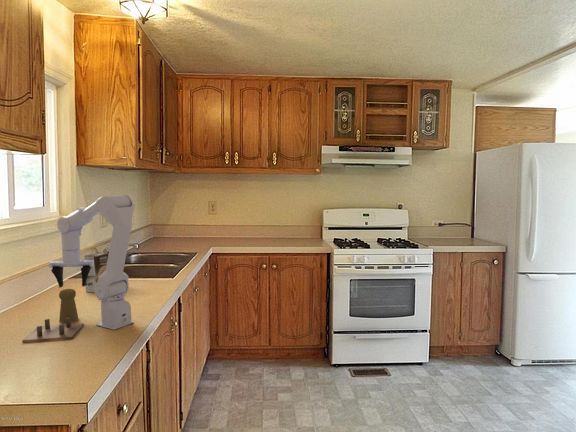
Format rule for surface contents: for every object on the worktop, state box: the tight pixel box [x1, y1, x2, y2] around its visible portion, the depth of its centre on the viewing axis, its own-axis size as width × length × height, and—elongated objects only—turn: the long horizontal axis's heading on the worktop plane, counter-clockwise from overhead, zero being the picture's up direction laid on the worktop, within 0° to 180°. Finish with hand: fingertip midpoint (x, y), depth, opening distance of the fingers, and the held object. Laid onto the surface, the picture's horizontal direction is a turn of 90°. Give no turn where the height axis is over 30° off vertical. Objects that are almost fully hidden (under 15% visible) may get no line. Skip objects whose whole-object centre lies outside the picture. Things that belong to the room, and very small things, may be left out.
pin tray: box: [22, 317, 85, 344], centre depth 132 cm, size 14×12×4 cm
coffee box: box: [83, 252, 109, 293], centre depth 184 cm, size 9×6×16 cm
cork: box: [58, 288, 80, 324], centre depth 145 cm, size 6×6×11 cm
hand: (72, 286), depth 150 cm, fingers open, 7 cm apart
